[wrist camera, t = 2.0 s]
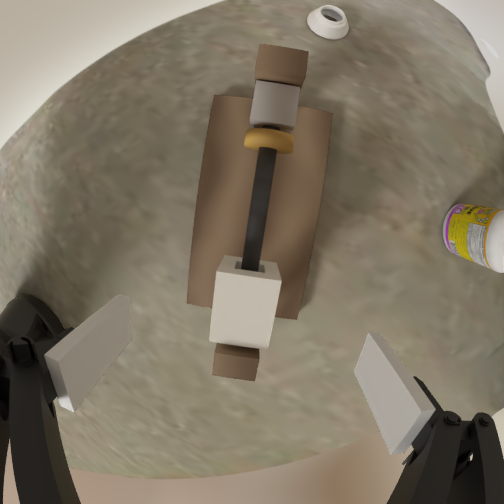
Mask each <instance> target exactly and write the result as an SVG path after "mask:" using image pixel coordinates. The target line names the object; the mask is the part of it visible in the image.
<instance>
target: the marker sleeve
mask: <svg viewBox="0 0 504 504" xmlns="http://www.w3.org/2000/svg"><path fill="white" fill-rule="evenodd" d="M241 264H242V257H235V256H228V255H224V257H223V259H222V261H221V263H220V265H219V267H218V269H217V271H216V279H215V288H214V297H213V306H212V316H211V326H210V336H209V341H211V342H217V343H223V344H229V345H236V346H243V347H250V348H258V349H266V350H268V346H269V342H270V337H271V332H272V327H273V323H274V318H275V313H276V308H277V303H278V298H279V293H280V287H281V282H282V280H281V276H280V273H279V269H278V265H277V263H275V262H268V261H262V260H260V263H259V270H258V272H255V271H248V270H242V269H241Z"/></svg>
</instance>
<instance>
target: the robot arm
mask: <svg viewBox="0 0 504 504" xmlns="http://www.w3.org/2000/svg"><path fill="white" fill-rule="evenodd" d="M131 340H132V334H131V311H130V297H129V296H124V295H120V294H118V295H116V296H115V297H114V298H113V299H111V300H110V301H109V302H107V303H106V304H105V305H104V306H102V307H101V308H100V309H99V310H97V311H96V312H95V313H94V314H92V315H91V316H90V317H89V318H87V319H86V320H85V321H84V322H82V323H81V324H80V325H79V326H78V327H76V328H75V329H74V328H72V327H71V328H69V329H66V330H64V329H63V327H62V325H61V323H60V322H59V320H58V319H57V318H56V316H55V315H54V314H53V312H52V311H51V310H50V309H49V308H48V307H47V306H46V305H45V304H44V303H43V302H42V301H40V300H39V299H37V298H36V297H34V296H32V295H28V294H23V295H20V296H18V297H16V298H15V299H13V300H11V301H10V302H9V303H8V305H7V307H6V308H5V309H4V310H3V312H2V313H1V314H0V504H3V485H4V473H5V464H6V457H7V450H8V444H9V439H10V443H11V455H12V463H13V470H14V476H15V482H16V487H17V492H18V496H19V501H20V504H81V502H80V500H79V497H78V495H77V492H76V489H75V486H74V483H73V481H72V477H71V474H70V471H69V468H68V464H67V461H66V457H65V453H64V449H63V445H62V441H61V437H60V432H59V427H58V422H57V416H56V411H55V406H54V403H53V400H54V399H55V398H56V397H58V400H59V402H60V405H61V406H62V407H64V408H66V409H68V410H70V411H72V412H74V413H75V411H76V410H77V409H78V407H79V406H80V405H81V403H82V402H83V401H84V399H85V398H86V397H87V395H88V394H89V393H90V391H91V390H92V389H93V388H94V386H95V385H96V384H97V382H98V381H99V380H100V379H101V377H102V376H103V375H104V374H105V372H106V371H107V370H108V368H109V367H110V366H111V365H112V363H113V362H114V361H115V360H116V358H117V357H118V356H119V355H120V353H121V352H122V351H123V350H124V348H125V347H126V346H127V345H128V344H129V342H130V341H131ZM354 374H355V376H356V378H357V380H358V382H359V385H360V387H361V389H362V391H363V393H364V395H365V398H366V400H367V402H368V404H369V407H370V409H371V411H372V413H373V416H374V418H375V420H376V422H377V425H378V427H379V429H380V432H381V434H382V436H383V439H384V441H385V443H386V446H387V448H388V450H389V453H390V455H395V454H400V453H404V452H405V451H406V450H407V449H408V448H409V446H410V445H411V444H412V446H413V448H414V450H413V451H412V453H411V454H410V455H409V456H408V457H407V458H406V460H405V461H404V462H403V463H402V464H403V465H404V464H405V463H406V462H407V463H406V465H405V468H404V470H403V472H402V474H401V476H400V479H399V481H398V483H397V485H396V487H395V489H394V491H393V493H392V495H391V496H390V499H389V500H388V502H387V504H504V459H503V454H502V449H501V445H500V441H499V437H498V433H497V430H496V426H495V423H494V421H493V419H492V418H491V417H490V415H488V414H486V413H477V414H476V415H475V416H474V418H473V419H472V421H462V420H461V418H460V417H459V416H458V415H457V414H456V413H454V412H451V411H443V409H442V408H441V406H440V405H439V404H438V402H437V401H436V399H435V398H434V397H433V395H431V393H430V391H429V390H427V387H426V386H425V384H424V383H423V382H422V381H421V380H420V379H418V378H417V377H416V376H414V377H413V376H412V375H411V373H410V372H409V371H408V369H407V368H406V367H405V365H404V364H403V363H402V361H401V360H400V359H399V357H398V356H397V355H396V353H395V352H394V351H393V349H392V348H391V347H390V345H389V344H388V343H387V341H386V340H385V339H384V337H383V336H382V335H381V334H380V333H375V332H368V335H367V338H366V340H365V343H364V346H363V349H362V351H361V354H360V357H359V359H358V362H357V364H356V367H355V369H354ZM472 454H473V458H472V460H471V461H470V456H471V455H472Z"/></svg>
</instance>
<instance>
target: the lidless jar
mask: <svg viewBox="0 0 504 504" xmlns="http://www.w3.org/2000/svg"><path fill="white" fill-rule="evenodd" d="M323 15H326V16H330V17H333V18H335V19H336V20H337V21H338V22H335V21H331V20H328V19H327V18H325V17H324V16H323ZM307 22H308V25H309V27H310V28H311V30H312V31H314V32H315V33H316V34H317V35H319V36H322V37H324V38H328V39H340V38H343V37H344V36H346V35H347V33H348V30H349V26H348V22H347V19H346V17H345V14H344V12H343V11H342V10H341V9H339V8H338V7H336V6H332V5H324V6H322V7H320V8H318V9H316V10H314V11H312V12H310V14H309V16H308V17H307Z"/></svg>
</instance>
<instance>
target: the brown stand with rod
mask: <svg viewBox="0 0 504 504" xmlns="http://www.w3.org/2000/svg"><path fill="white" fill-rule="evenodd" d="M307 61H308V51H303V50H298V49H292V48H287V47H280V46H274V45H266V44H260V45H259V51H258V56H257V61H256V67H255V91H254V97H253V98H245V97H236V96H225V95H214V99H213V104H212V109H211V114H210V120H209V125H208V131H207V137H206V143H205V149H204V155H203V161H202V168H201V174H200V181H199V188H198V196H197V203H196V211H195V220H194V228H193V237H192V247H191V257H190V268H189V279H188V292H187V304H193V305H198V306H204V307H210V308H212V306H213V297H214V288H215V279H216V271H217V269H218V267H219V265H220V263H221V261H222V259H223V257H224V255H228V256H235V257H242V264H241V269H242V270H248V271H255V272H258V270H259V263H260V260H262V261H268V262H275V263H277V265H278V269H279V273H280V276H281V280H282V282H281V287H280V293H279V298H278V303H277V308H276V313H275V317H279V318H287V319H295V320H297V318H298V313H299V309H300V305H301V300H302V296H303V291H304V287H305V282H306V277H307V272H308V268H309V263H310V258H311V253H312V247H313V242H314V237H315V231H316V226H317V220H318V215H319V209H320V203H321V197H322V190H323V184H324V177H325V170H326V163H327V156H328V149H329V141H330V133H331V124H332V115H333V113H330V112H326V111H322V110H317V109H312V108H308V107H303V106H298V101H299V94H300V89H301V87H302V84H303V82H304V80H305V77H306V70H307ZM258 363H259V349H258V348H250V347H243V346H236V345H229V344H223V343H217V345H216V349H215V353H214V363H213V373H212V375H215V376H221V377H227V378H234V379H241V380H249V381H255V378H256V373H257V368H258Z"/></svg>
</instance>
